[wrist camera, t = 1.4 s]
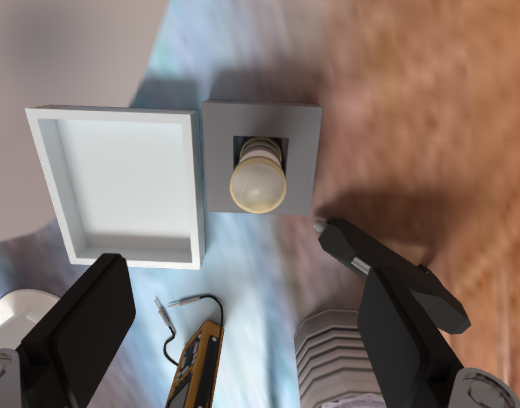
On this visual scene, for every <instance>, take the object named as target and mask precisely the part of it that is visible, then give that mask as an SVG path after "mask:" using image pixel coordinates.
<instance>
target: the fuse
mask: <svg viewBox="0 0 520 408" xmlns="http://www.w3.org/2000/svg"><path fill="white" fill-rule="evenodd" d="M230 193H231V196H232V198H233V200H234V201H235V203H236V204H237V205H238V206H239V207H240V208H242V209H243V210H245V211H248V212H251V213H266V212H269V211H271V210H273V209H275V208H276V207H277V206H279V205H280V203H281V202H282V201H283V199H284V197H285V194H286V180H285V175H284V172H283V170H282V167H281V150H280V147H279V145H278V143H277V142H276V141H275V140H274V139H273V138H271V137H255V136H252V137H250V138H249V139H248V140H246V142H245V143H244V144H243V146H242V149H241V152H240V160H239V163H238V165H237V166H236V168H235V170H234V172H233V174H232V177H231V180H230Z"/></svg>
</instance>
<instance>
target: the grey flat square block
mask: <svg viewBox="0 0 520 408" xmlns="http://www.w3.org/2000/svg"><path fill="white" fill-rule="evenodd" d="M322 111H323V107H322V106H320V105H318V104H308V103H282V102H257V101H231V100H206V101H204V102H202V123H203V144H204V164H205V185H206V206H207V212H231V213H251V212H248V211H245V210H243V209H242V208H240V207H239V206H238V205H237V204H236V203H235V201H234V200H233V198H232V196H231V193H230V180H231V177H232V174H233V172H234V170H235V168H236V166H237V136H255V137H280V138H286V148H285V162H284V175H285V180H286V194H285V197H284V199H283V201H282V202H281V203H280V205H279V206H277V207H276V208H275V209H273V210H271V211H269V212H266V213H255V214H279V215H303V216H310V210H311V202H312V194H313V185H314V177H315V169H316V161H317V152H318V144H319V136H320V128H321V119H322Z"/></svg>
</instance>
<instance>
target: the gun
mask: <svg viewBox="0 0 520 408" xmlns="http://www.w3.org/2000/svg"><path fill="white" fill-rule="evenodd" d="M313 227H314V228H315V229H316V230H317V231H318V232H319V233H321V236H320V237H319V239H318V240H319V242H320V244H321V246H322V248H323V250H324V251H326V252H327V253H329V254H330V255H331V256H333V257H334V258H336V259H337V260H338V261H340V262H341V263H343V264H344V265H345V266H347V267H348V268H350V269H351V270H352V271H354V272H355V273H357V274H358V275H359V276H361V277H362V278H364V279H367V276H368V272H369V269H370V268H371V267H374V265H375V264H391V265H393V266H394V268H395V269H396V271H397V272H398V274H399V275H400V277H401V278H402V280H403V281H404V283H405V284H406V286H407V287H408V288H409V290H410V291H411V293H412V294H413V296H414V297H415V299H416V300H417V302H419V303H420V304H421V305H422V307H423V308H424V310H425V311H426V313H427V314H428V315H429V317H430V318H431V320H432V321H433V323H434V324H435V326H436V327H437V328H439V329H441V330H443V331H445V332H447V333H449V334H451V335H452V334H462V333H463V332H464V331H465V330H466V329H467V328H469V327H470V326H471V323H470V321H469V318H468V316H467V314H466V312H465V310H464V308H463V306H462V304H461V303H460V302H459V301H458V300H457V299H456V298H455V297H454V296H453V295H452V294H451V293H450V292H449V291H448V290H446V289H445V288H444V286H443V285H442V283H441V282H440V281H439V279H438V278H437V277H436V276H435V275H434V274H433V273H432V272H431V271H430V270H429V269H428V268H426V267H425V266H423V265H421V264H420V265H419V266H418V267H416V266H415V265H413V264H412V263H410V262H409V261H407V260H406V259H404V258H403V257H401V256H400V255H398V254H397V253H395V252H394V251H392V250H390V249H389V248H387V247H386V246H384V245H383V244H381V243H380V242H378V241H377V240H375V239H374V238H372V237H371V236H369V235H368V234H366V233H365V232H363V231H362V230H360V229H359V228H357V227H356V226H354V225H353V224H351V223H350V222H348V221H347V220H345V219H336V218H334V219H333V220H332V221H331V222H330V223H329V224H327V223H325V222H323V221H321V220H319V219H318V220H317V221H316V222H315V224H314V225H313Z"/></svg>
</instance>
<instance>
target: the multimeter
mask: <svg viewBox="0 0 520 408" xmlns="http://www.w3.org/2000/svg"><path fill="white" fill-rule="evenodd" d="M206 297H210V298H213V299H214V300H215V301H216V302H217V303H218V304H219V305H220V308H221V324H220V326H218V325H216V324H214V323H212V322H210V321H208V320H207V321H205V322H204V324H203V325H202V327H201V328H200V329H199V330H198V332H197V333H196V334H195V335H194V337H193V338H192V339H191V340H190V341H189V343H188V344H187V345H186V346H185V347H184V349H183V351H182V354H181V357H180V361H179V364H177V363H175V362H174V361H172V360H171V359H170V358H169V357H168V356H167V354H166V352H165V347H166V344H167V343H169V342H170V341H172V340H173V339H174V338H175V333H174V331H173V330H172V328H171V326H170V323H169V321H168V319H167V317H166V315H165V314H164V312H163V309H160V307H159V305H158V304H157V302H156V301H155V300H154V301H155V303H156V305H157V307H158V309H159V313H160V315H161V317H162V318H163V320H164V322H165V324H166V325H167V326H168V327H169V329H170V330H171V332H172V334H173V337H172V338H171V339H170V340H168V341H167V342H166V343H165V344H164V348H163V351H164V355H165V357H166V358H167V359H168V360H169V361H171V362H172V363H173V364H175V365H176V366H178V367H177V371H176V373H175V377H174V380H173V383H172V386H171V389H170V393H169V396H168V399H167V402H166V406H165V408H212V402H213V396H214V390H215V384H216V378H217V372H218V366H219V360H220V354H221V348H222V342H223V335H224V328H222V325H223V307H222V305H221V303H220V302H219V301H218V300H217V299H216V298H215V297H214V296H211V295H205V296H201V297H194V298H191V299H187V300H183V301H180V302H179V303H177V304H173V305H170V306H168V307H172V306H176V305H179V304H180V306H182V305H184V304H187V303H191V302H194V301H197V300H200V299H202V298H206Z"/></svg>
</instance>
